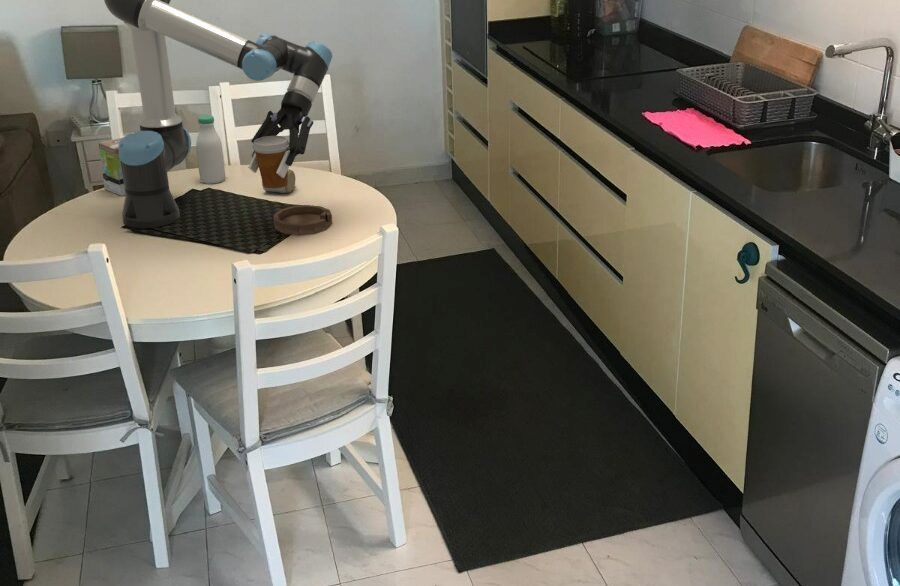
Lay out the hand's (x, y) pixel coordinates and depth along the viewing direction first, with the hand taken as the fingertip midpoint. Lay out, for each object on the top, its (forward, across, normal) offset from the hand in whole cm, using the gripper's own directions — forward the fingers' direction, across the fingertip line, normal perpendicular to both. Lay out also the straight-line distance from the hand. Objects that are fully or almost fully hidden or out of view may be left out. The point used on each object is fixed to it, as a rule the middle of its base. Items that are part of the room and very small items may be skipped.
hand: (266, 172), depth 248 cm
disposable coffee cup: (+1, 0, -5) cm, 5 cm away
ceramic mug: (-8, +22, -34) cm, 41 cm away
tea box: (+5, +62, -19) cm, 65 cm away
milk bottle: (-6, +46, -31) cm, 56 cm away
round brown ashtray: (+5, -2, -20) cm, 20 cm away
